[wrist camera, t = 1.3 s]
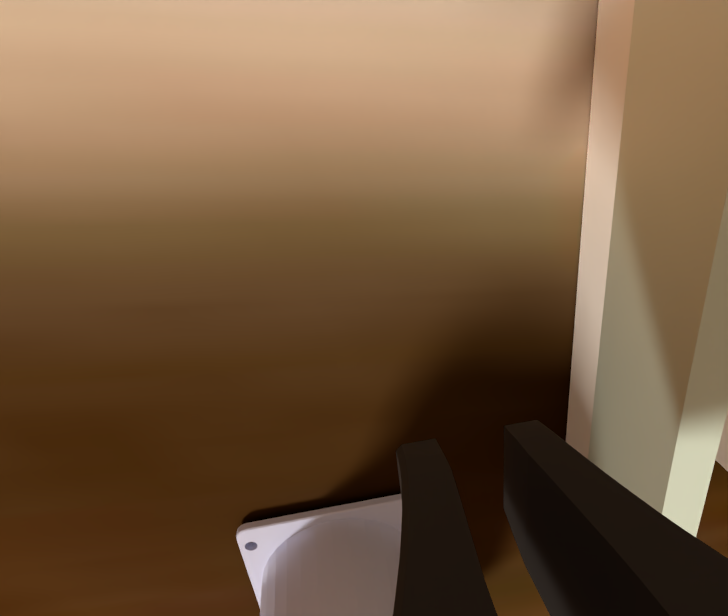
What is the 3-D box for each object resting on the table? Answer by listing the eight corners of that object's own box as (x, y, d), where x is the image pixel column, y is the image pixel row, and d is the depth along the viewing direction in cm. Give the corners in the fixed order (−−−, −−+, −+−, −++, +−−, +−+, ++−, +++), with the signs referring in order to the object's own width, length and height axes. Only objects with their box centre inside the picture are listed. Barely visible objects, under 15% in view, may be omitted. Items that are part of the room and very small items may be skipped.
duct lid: (649, 723, 14) (620, 718, 14) (602, 513, 20) (582, 511, 20) (926, -382, 5) (837, -357, 5) (686, -154, 11) (649, -146, 11)
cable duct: (714, 429, 23) (770, 479, 20) (564, 458, 23) (601, 512, 20) (852, -141, 14) (984, -187, 11) (606, -111, 14) (685, -153, 11)
